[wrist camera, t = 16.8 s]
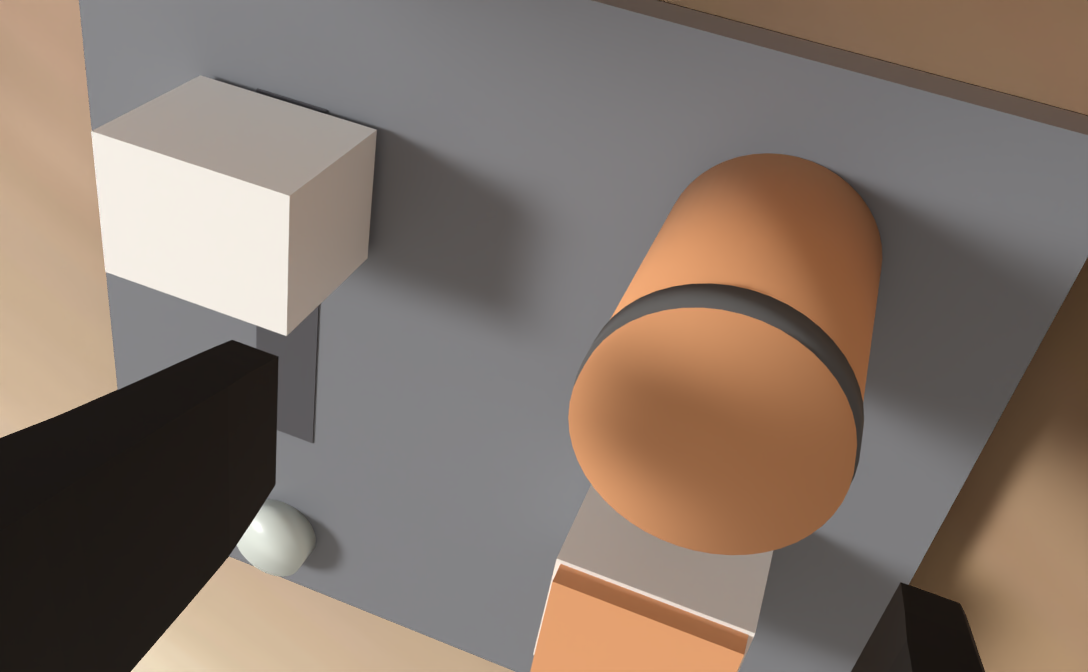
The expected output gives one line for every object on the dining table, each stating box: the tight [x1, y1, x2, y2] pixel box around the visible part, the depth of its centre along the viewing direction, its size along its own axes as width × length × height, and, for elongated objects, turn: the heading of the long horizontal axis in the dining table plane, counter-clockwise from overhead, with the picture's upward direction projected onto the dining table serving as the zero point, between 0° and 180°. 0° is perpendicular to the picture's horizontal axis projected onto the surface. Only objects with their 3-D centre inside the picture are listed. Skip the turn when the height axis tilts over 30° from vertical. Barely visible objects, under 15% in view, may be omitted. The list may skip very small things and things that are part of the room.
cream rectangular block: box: [91, 75, 377, 336], centre depth 20 cm, size 3×4×3 cm
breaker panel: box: [79, 0, 1088, 672], centre depth 23 cm, size 18×20×2 cm
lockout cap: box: [568, 153, 882, 555], centre depth 17 cm, size 4×4×6 cm
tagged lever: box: [530, 484, 773, 672], centre depth 22 cm, size 3×4×4 cm
